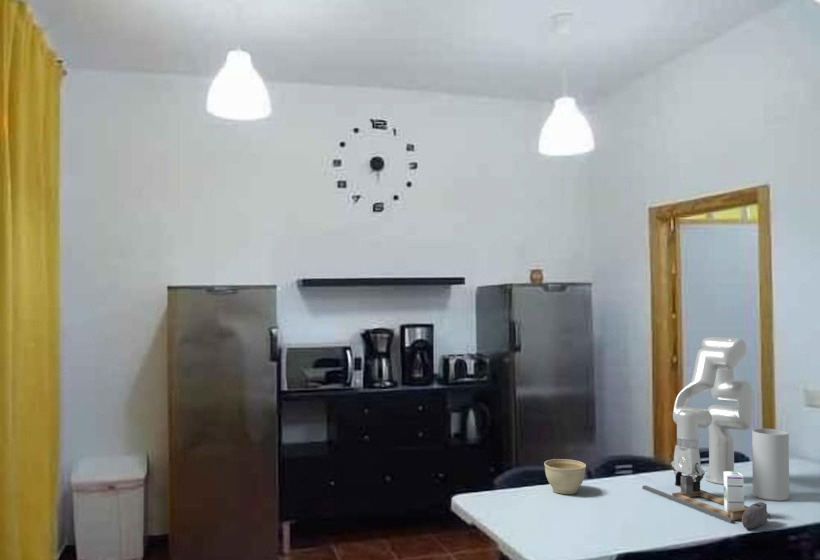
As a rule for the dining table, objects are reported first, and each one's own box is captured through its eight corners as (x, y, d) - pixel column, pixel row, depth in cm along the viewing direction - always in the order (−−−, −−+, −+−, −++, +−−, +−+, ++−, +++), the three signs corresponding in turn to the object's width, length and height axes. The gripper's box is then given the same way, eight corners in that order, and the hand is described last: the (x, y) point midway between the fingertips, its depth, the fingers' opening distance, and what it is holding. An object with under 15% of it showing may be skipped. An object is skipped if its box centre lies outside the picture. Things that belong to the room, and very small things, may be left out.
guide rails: (642, 488, 285) (642, 485, 285) (678, 484, 291) (678, 481, 291) (730, 523, 242) (730, 519, 242) (770, 517, 248) (770, 514, 248)
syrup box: (745, 517, 249) (744, 475, 249) (727, 516, 250) (726, 474, 250) (740, 512, 254) (740, 471, 255) (723, 511, 256) (722, 470, 256)
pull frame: (671, 496, 273) (671, 477, 273) (698, 493, 277) (698, 474, 278) (732, 520, 244) (732, 498, 244) (761, 516, 249) (761, 494, 249)
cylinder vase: (793, 496, 274) (792, 431, 275) (783, 503, 265) (783, 436, 265) (758, 490, 283) (758, 427, 283) (748, 497, 273) (747, 431, 274)
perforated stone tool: (750, 533, 233) (750, 511, 233) (735, 529, 237) (735, 508, 237) (772, 523, 242) (772, 503, 242) (756, 520, 246) (756, 499, 246)
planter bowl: (540, 494, 277) (540, 466, 277) (548, 484, 292) (548, 457, 292) (582, 499, 271) (582, 470, 271) (588, 488, 286) (588, 461, 286)
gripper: (664, 439, 281) (664, 483, 281) (695, 448, 265) (696, 495, 264) (679, 438, 284) (679, 481, 283) (711, 446, 267) (712, 493, 267)
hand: (687, 488), depth 274 cm, fingers open, 8 cm apart
